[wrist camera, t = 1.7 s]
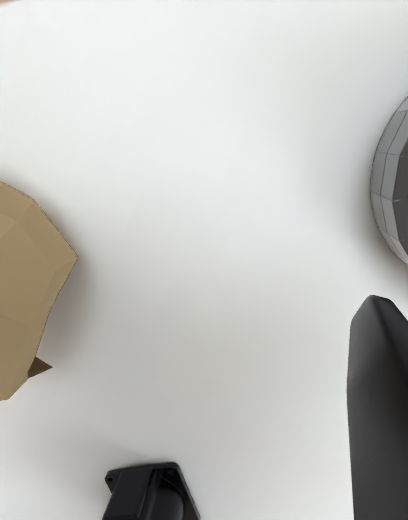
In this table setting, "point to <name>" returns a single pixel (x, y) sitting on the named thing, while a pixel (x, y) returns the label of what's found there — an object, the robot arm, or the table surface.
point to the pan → (392, 183)
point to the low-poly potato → (26, 284)
